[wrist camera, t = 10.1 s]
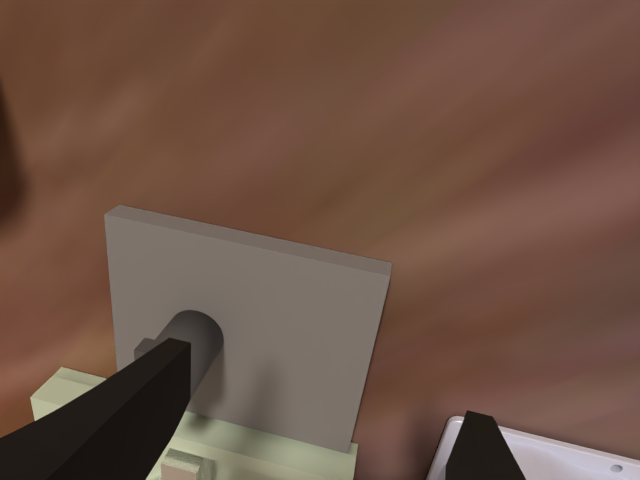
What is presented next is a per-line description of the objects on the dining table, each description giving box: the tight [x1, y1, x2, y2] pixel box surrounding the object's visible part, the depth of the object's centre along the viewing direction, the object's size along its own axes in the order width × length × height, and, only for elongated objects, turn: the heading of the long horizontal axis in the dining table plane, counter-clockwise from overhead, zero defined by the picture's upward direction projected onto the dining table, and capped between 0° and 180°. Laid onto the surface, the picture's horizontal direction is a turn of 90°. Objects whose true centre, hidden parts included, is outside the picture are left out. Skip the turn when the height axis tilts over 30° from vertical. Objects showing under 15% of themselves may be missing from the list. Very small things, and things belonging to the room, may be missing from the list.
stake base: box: [104, 205, 392, 454], centre depth 21 cm, size 13×11×6 cm
